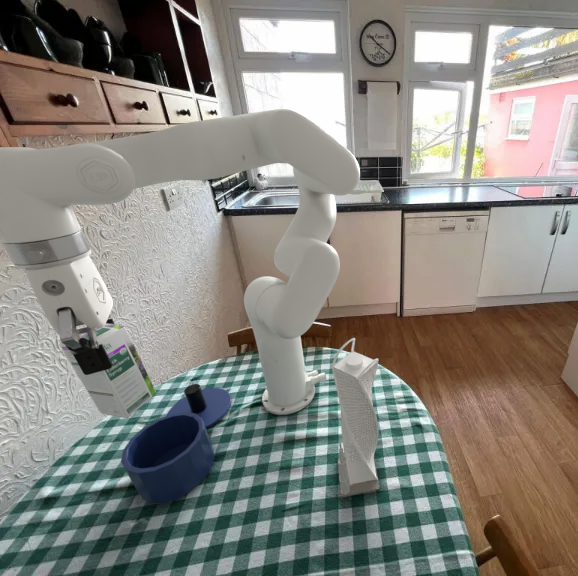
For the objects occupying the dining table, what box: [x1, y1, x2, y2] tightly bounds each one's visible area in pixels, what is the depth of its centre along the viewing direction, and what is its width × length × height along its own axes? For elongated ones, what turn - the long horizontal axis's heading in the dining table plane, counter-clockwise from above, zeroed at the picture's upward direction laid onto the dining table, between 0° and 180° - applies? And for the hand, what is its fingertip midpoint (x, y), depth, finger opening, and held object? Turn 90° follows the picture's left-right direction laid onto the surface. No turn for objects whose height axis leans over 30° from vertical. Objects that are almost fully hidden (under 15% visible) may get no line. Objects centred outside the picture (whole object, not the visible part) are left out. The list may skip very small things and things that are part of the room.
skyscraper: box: [331, 337, 380, 499], centre depth 54 cm, size 8×8×28 cm
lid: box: [166, 383, 232, 429], centre depth 72 cm, size 14×14×7 cm
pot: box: [120, 412, 215, 505], centre depth 59 cm, size 13×13×8 cm
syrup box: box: [58, 323, 157, 419], centre depth 50 cm, size 6×6×14 cm
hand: (104, 354), depth 49 cm, fingers closed on syrup box, 7 cm apart
